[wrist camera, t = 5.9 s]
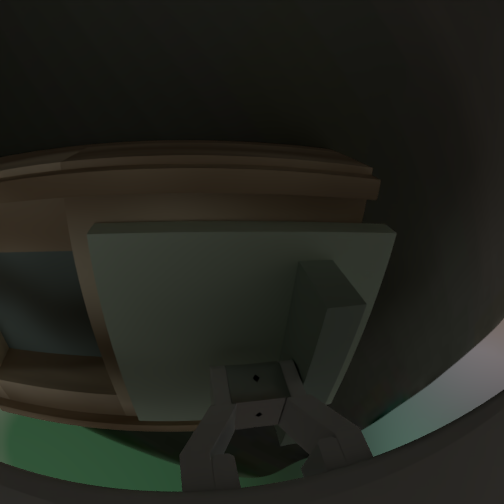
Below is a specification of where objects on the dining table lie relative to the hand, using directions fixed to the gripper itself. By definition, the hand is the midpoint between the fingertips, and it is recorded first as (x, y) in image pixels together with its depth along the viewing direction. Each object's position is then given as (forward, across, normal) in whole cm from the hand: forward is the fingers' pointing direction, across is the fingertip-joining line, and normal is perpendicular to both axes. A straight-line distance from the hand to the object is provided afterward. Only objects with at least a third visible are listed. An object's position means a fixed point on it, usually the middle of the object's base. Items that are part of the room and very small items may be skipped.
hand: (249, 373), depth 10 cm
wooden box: (+6, +5, 0) cm, 8 cm away
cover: (+2, 0, 0) cm, 2 cm away
